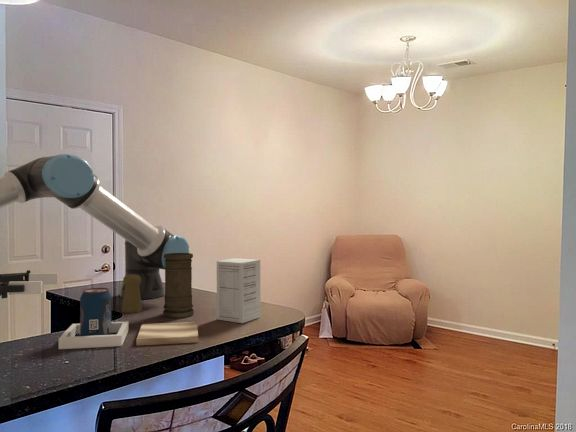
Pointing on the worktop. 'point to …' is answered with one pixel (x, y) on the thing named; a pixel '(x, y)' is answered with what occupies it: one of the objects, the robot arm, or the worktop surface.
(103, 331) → the soda can
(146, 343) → the birch board
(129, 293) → the olive brown rounded figure
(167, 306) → the container
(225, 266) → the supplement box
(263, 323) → the worktop surface
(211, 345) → the worktop surface
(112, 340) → the tray
